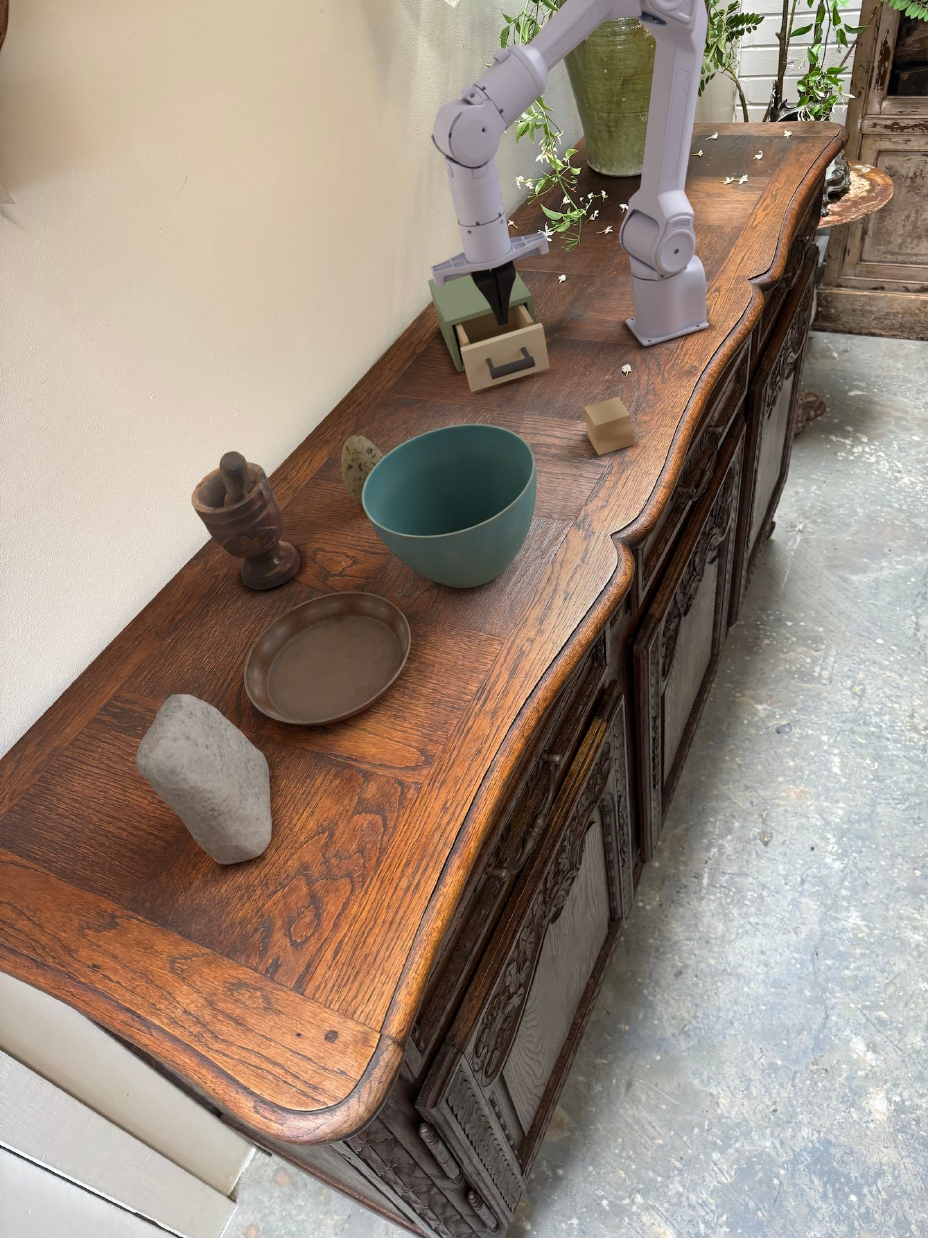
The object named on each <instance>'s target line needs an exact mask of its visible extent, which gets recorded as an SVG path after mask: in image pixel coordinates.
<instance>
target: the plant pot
mask: <svg viewBox="0 0 928 1238" xmlns="http://www.w3.org/2000/svg"><path fill="white" fill-rule="evenodd" d="M383 456H384V457H383V458H382V459H381V460H380V461H379V462H378V463H377V464H376V465H375V467H374V468H373V469H372V471H371V472H370V474H369V475H368V477H367V479H366V481H365V483H364V486H363V491H362V504H363V506H362V507H363V510H364V512H365V514H366V517H367V519H368V520H369V522H370V524H371V526H372V528H373V529H374V531H375V533H376V534H377V536H378V537H379V539H380V540H381V541H382V543H384V545H385V546H386V547H387V548H388V550H389V551H390V552H392V554H393V555H394V556H395V557H396V558H397V559H398V560H400V561H401V563H403V564H404V565H405V566H407V567H408V568H409V569H411V570H412V571H414V572H415V573H417V574H418V575H420V576H422V577H424V578H426V579H428V580H431V581H433V582H436V583H438V584H440V585H444V586H448V587H452V588H458V589H470V588H476V587H479V586H480V587H481V586H483V585H485V584H488V583H490V582H491V581H493V580H495V579H496V578H497V577H499V576H500V575H501V574H503V572H505V570H506V569H507V568H508V567H509V566H510V565H511V563H512V562H513V561H514V560H515V558H516V557H517V555H518V554H519V552H520V550H521V548H522V547H523V545H524V543H525V541H526V538H527V536H528V533H529V531H530V529H531V525H532V521H533V518H534V512H535V507H536V501H537V486H538V485H537V484H538V483H537V478H538V477H537V466H536V460H535V455H534V453H533V450H532V448H531V446H530V444H529V443H528V442H527V441H526V440H525V439H524V438H523V437H521V436H520V435H518V434H517V433H516V432H514V431H511V430H510V429H508V428H504V427H501V426H496V425H491V424H485V423H484V424H483V423H465V424H455V425H448V426H444V427H440V428H436V429H433V430H430V431H427V432H423V433H422V434H419V435H417V436H414V437H412V438H409V439H408V440H406V441H404V442H402V443H401V444H399V445H397V446H396V447H395V448H393V449H392V450H391V451H388V453H386V454H385V455H383Z"/></svg>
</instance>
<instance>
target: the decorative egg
mask: <svg viewBox="0 0 928 1238" xmlns="http://www.w3.org/2000/svg"><path fill="white" fill-rule="evenodd" d="M384 456H385V455H383V453H382V452H381V450H380V449H379V448H378V446H376V445H375V444H374V442H372V441H371V440H370V439H368V438H367V437H365V436H362V435H359V434H354V435H351V436H349V437H348V438H347V439H346V440H345V442H344V444H343V446H342V451H341V457H340V458H341V459H340V463H341V464H340V465H341V467H340V468H341V476H342V481H343V484H344V487H345V489H346V492H347V493H348V495H349V497H350V498H351V499H352V500H353V501H354V502H355V503H357V504H358V505H360V506H362V507H363V504H362V491H363V486H364V483H365V481H366V479H367V477H368V475H369V474H370V472H371V471H372V469H373V468H374V467H375V465H376V464H377V463H378V462H379V461H380V460H381V459H382V458H383V457H384Z"/></svg>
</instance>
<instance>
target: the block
mask: <svg viewBox="0 0 928 1238" xmlns="http://www.w3.org/2000/svg"><path fill="white" fill-rule="evenodd" d="M583 411H584V416H585V417H584V420H585V427H586V433H587V438H588V440H589V441H590V444H591V445H592V447H593V448H594V450H595V452H596V454H597V455H598V456H603V455H605V454H608V453H612V452H615V451H618V450H622V449H624V448H629V447H631V446H634V441H633V431H632V418H631V414H630V412H629V411H628V409H627V407H626V406H625V405H624V403H623V402H622V400H621V399H620V397H619V396H616V397H613V398H609V399H605V400H603V401H600V402H597V403H593V404H589V405H587V406H584V407H583Z"/></svg>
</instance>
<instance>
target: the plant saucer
mask: <svg viewBox="0 0 928 1238" xmlns="http://www.w3.org/2000/svg"><path fill="white" fill-rule="evenodd" d="M411 640H412V633H411V628H410V624H409V622H408V619H407V618H406V616H405V614H404V613H403V611H402V610H401V609H400V608H399V607H398V606H397V605H396V604H394V603H393V602H392V601H390V600H388V599H386V598H385V597H382V596H379V595H377V594H375V593H370V592H364V591H341V592H333V593H328V594H324V595H321V596H318V597H314V598H311V599H309V600H306V601H304V602H302V603H300V604H298V605H296V606H294V607H293V608H290V609H289V610H287V611H286V612H285V613H282V615H280V616H279V617H278V618H277V619H275V620H274V621H273V622H272V623H270V625H269V626H268V627H266V628H265V630H264V631H262V633H261V634H260V636H259V637H258V638H257V639H256V641H255V643H254V644H253V646H252V647H251V649H250V651H249V653H248V655H247V658H246V662H245V664H244V665H245V666H244V669H243V684H244V689H245V692H246V695H247V697H248V699H249V701H250V703H251V704H252V705H253V706H254V707H255V708H256V709H257V710H258V711H260V712H261V713H262V714H264V715H265V716H267V717H269V718H271V719H274V720H276V721H279V722H282V723H285V724H291V725H296V726H322V725H328V724H334V723H338V722H341V721H345V720H348V719H349V718H352V717H354V716H356V715H358V714H360V713H362V712H363V711H365V710H367V709H369V708H370V707H371V706H373V705H374V704H375V703H376V702H377V701H379V700H380V699H381V698H382V697H383V696H384V695H385V694H386V693H387V692H388V690H390V688H391V687H392V685H394V683H395V682H396V680H397V678H398V677H399V676H400V674H401V672H402V670H403V669H404V666H405V664H406V662H407V659H408V657H409V653H410V649H411V644H412V643H411V642H412V641H411Z"/></svg>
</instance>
